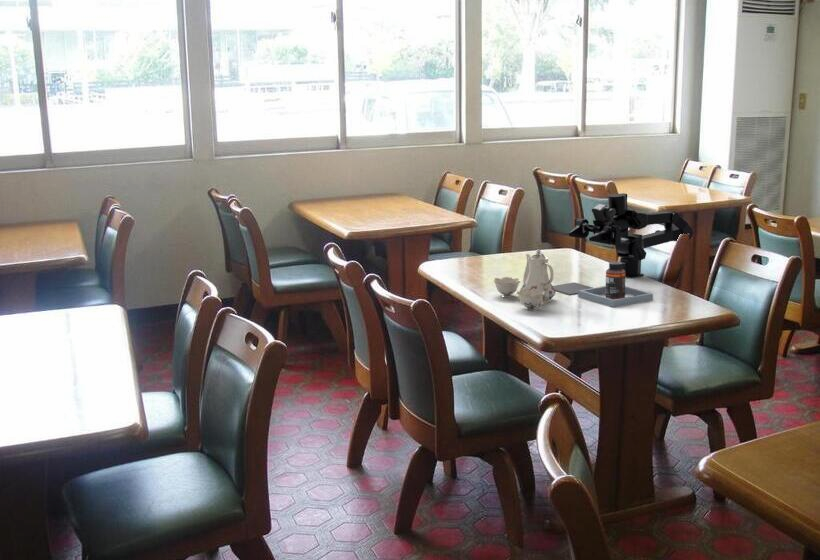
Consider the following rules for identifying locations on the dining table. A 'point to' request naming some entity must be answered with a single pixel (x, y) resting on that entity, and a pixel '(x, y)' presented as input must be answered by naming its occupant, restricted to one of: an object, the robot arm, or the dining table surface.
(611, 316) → the dining table surface
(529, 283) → the chinaware
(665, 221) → the robot arm
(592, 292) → the bin
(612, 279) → the supplement bottle
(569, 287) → the mat
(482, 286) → the dining table surface
